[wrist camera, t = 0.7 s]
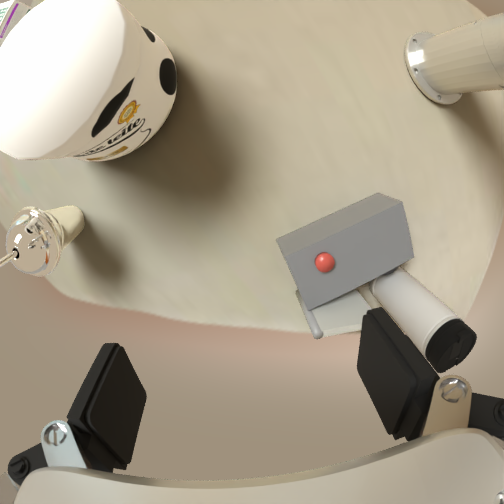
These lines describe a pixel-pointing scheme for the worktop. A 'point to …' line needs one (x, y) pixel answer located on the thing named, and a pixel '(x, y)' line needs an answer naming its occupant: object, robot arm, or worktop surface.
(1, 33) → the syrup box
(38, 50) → the milk container
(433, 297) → the travel mug
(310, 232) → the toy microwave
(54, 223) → the cup with straw
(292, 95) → the worktop surface
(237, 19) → the worktop surface
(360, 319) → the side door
